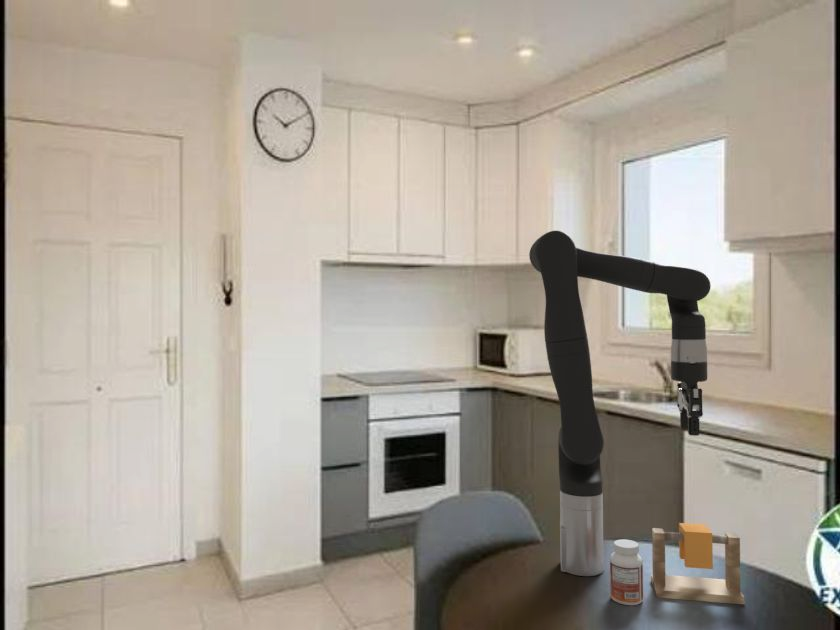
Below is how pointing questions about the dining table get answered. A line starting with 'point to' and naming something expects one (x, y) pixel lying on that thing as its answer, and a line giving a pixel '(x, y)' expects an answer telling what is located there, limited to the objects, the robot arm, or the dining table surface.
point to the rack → (697, 586)
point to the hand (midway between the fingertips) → (689, 431)
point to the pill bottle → (626, 573)
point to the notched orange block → (696, 546)
